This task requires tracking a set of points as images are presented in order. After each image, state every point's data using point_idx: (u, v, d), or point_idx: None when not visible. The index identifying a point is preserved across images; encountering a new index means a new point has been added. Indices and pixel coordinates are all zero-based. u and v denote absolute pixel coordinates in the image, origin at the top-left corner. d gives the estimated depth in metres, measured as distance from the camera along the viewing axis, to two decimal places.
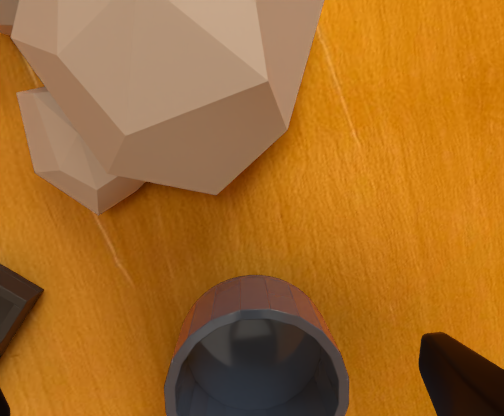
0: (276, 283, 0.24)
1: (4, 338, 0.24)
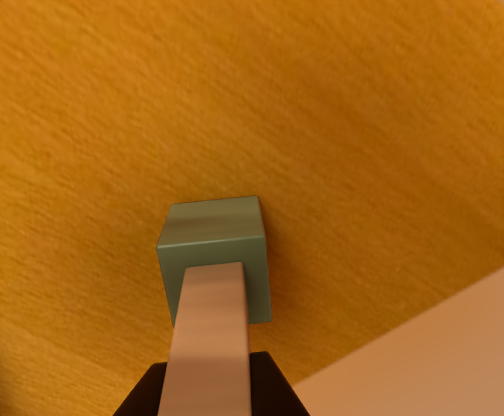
0: None
1: None
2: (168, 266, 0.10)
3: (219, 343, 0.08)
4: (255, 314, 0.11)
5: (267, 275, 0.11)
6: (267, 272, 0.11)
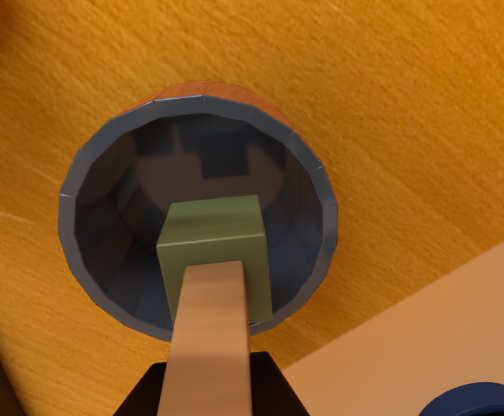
0: (153, 93, 0.16)
1: None
2: (168, 265, 0.10)
3: (219, 341, 0.08)
4: (255, 313, 0.11)
5: (267, 274, 0.11)
6: (267, 271, 0.11)
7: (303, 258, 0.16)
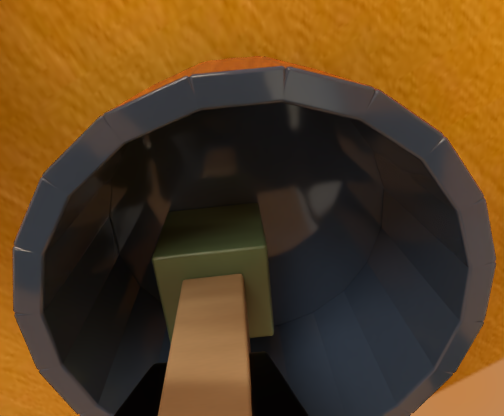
0: (174, 75, 0.10)
1: None
2: (164, 278, 0.10)
3: (218, 364, 0.07)
4: (256, 328, 0.11)
5: (268, 287, 0.10)
6: (268, 284, 0.10)
7: (406, 333, 0.10)
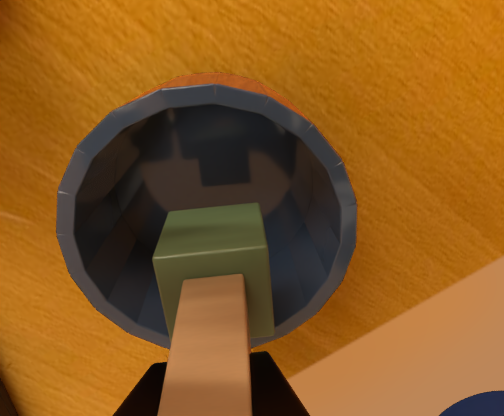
0: (159, 85, 0.15)
1: None
2: (165, 278, 0.10)
3: (218, 364, 0.07)
4: (257, 328, 0.11)
5: (269, 287, 0.10)
6: (269, 284, 0.10)
7: (317, 261, 0.15)
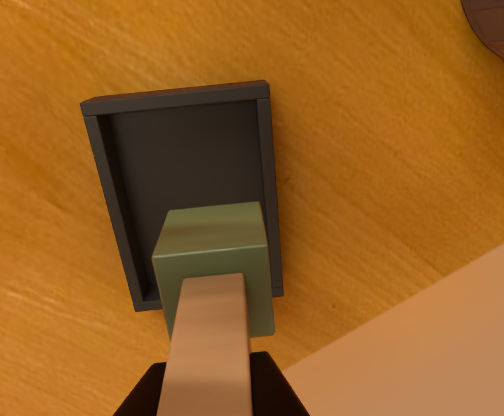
0: None
1: (273, 150, 0.18)
2: (164, 277, 0.10)
3: (218, 364, 0.07)
4: (257, 327, 0.11)
5: (269, 286, 0.10)
6: (269, 283, 0.10)
7: None
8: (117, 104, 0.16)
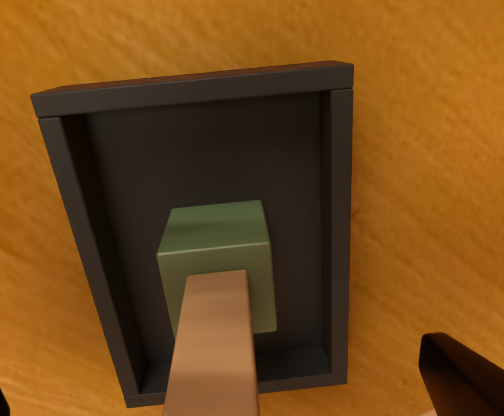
0: None
1: (350, 174, 0.11)
2: (169, 274, 0.10)
3: (223, 357, 0.07)
4: (259, 323, 0.11)
5: (272, 283, 0.10)
6: (272, 280, 0.10)
7: None
8: (95, 97, 0.10)
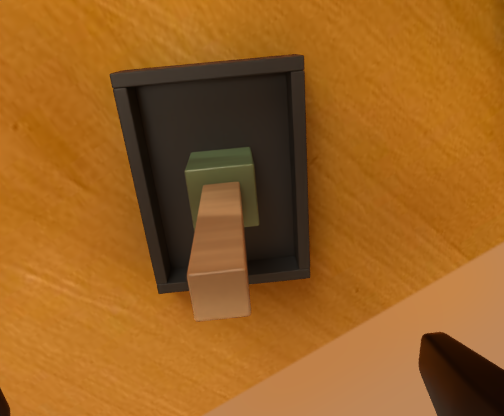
0: None
1: (305, 126, 0.17)
2: (192, 184, 0.16)
3: (225, 210, 0.14)
4: (247, 220, 0.17)
5: (255, 191, 0.17)
6: (255, 189, 0.17)
7: None
8: (148, 75, 0.16)
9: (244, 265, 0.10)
